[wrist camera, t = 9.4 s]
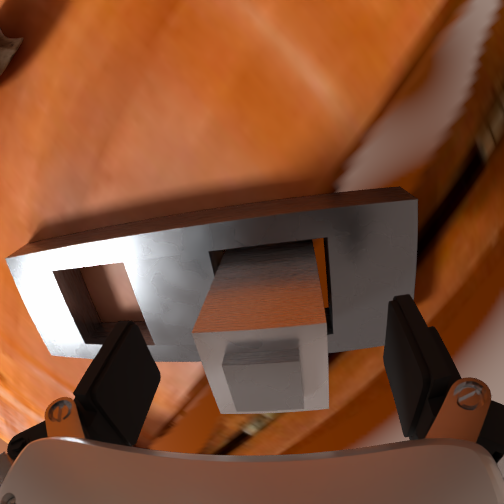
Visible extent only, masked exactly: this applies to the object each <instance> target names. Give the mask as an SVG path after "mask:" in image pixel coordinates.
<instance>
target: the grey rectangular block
mask: <svg viewBox="0 0 504 504" xmlns="http://www.w3.org/2000/svg"><path fill="white" fill-rule="evenodd" d="M192 336H193V339H194V342H195V345H196V348H197V350H198V353H199V356H200V359H201V362H202V365H203V367H204V370H205V373H206V376H207V378H208V381H209V384H210V387H211V389H212V392H213V395H214V397H215V400H216V402H217V405H218V408H219V410H220V413H221V414H250V413H279V412H295V411H309V410H320V409H329V382H328V345H327V323H326V316H325V310H324V304H323V298H322V292H321V286H320V280H319V274H318V269H317V263H316V258H315V252H314V247H313V242H312V239H308V240H299V241H291V242H282V243H274V244H265V245H257V246H249V247H240V248H232V249H226V251H225V253H224V255H223V258H222V260H221V263H220V265H219V267H218V270H217V272H216V275H215V277H214V279H213V282H212V284H211V287H210V289H209V291H208V294H207V296H206V299H205V301H204V304H203V306H202V308H201V311H200V313H199V316H198V318H197V321H196V323H195V326H194V328H193V331H192Z"/></svg>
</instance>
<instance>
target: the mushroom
mask: <svg viewBox="0 0 504 504" xmlns="http://www.w3.org/2000/svg"><path fill="white" fill-rule="evenodd" d="M22 41H23V38H16V39H14V38H8V37H6V36H4V35H3V33H2V31H1V29H0V75H1V74H2V73H3V72H4V70H5V69H6V67H7V66H8V64H9V62H10V61H11V59H12V57H13V56H14V54H15V52H16V51H17V49H18V48H19V46H20V44H21V43H22Z"/></svg>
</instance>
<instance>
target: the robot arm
mask: <svg viewBox="0 0 504 504" xmlns="http://www.w3.org/2000/svg"><path fill="white" fill-rule="evenodd" d="M383 360H384V366H385V369H386V373H387V376H388V379H389V383H390V386H391V390H392V393H393V397H394V400H395V404H396V408H397V411H398V415H399V419H400V423H401V426H402V431H403V434H404V437H409V439H410V440H409V441H402V442H396V443H389V444H383V445H377V446H371V447H363V448H356V449H348V450H339V451H331V452H320V453H309V454H294V455H270V456H227V455H204V454H189V453H178V452H167V451H158V450H150V449H143V448H136V447H132V446H133V445H135V444H136V442H137V439H138V437H139V434H140V431H141V429H142V426H143V424H144V421H145V418H146V416H147V413H148V410H149V408H150V405H151V403H152V400H153V398H154V395H155V392H156V390H157V387H158V385H159V382H160V378H161V376H160V372H159V369H158V367H157V365H156V363H155V361H154V359H153V357H152V355H151V353H150V351H149V349H148V346H147V344H146V342H145V340H144V338H143V335H142V333H141V331H140V329H139V327H138V325H136V324H135V323H134V322H133V321H119V322H117V324H116V325H115V327H114V328H113V330H112V331H111V333H110V334H109V336H108V337H107V339H106V341H105V342H104V344H103V345H102V347H101V348H100V350H99V352H98V353H97V355H96V356H95V358H94V359H93V361H92V363H91V364H90V366H89V368H88V369H87V371H86V372H85V374H84V376H83V377H82V379H81V381H80V382H79V384H78V386H77V387H76V389H75V391H74V392H73V394H74V395H75V399H74V400H72V399H71V398H68V397H62V398H58V399H56V400H55V401H53V402H52V403H51V404H50V405H49V406H48V407H47V409H46V412H45V421H43V422H41V423H39V424H37V425H35V426H33V427H31V428H29V429H27V430H25V431H23V432H21V433H19V434H17V435H15V436H14V437H13V438H12V439H11V440H10V442H9V444H8V449H7V452H8V453H5V452H3V453H2V454H0V504H504V405H502V404H500V403H497V402H495V401H492V400H491V392H490V389H489V387H488V386H487V385H486V384H485V383H484V382H483V381H481V380H479V379H477V378H461V377H460V374H459V372H458V370H457V368H456V366H455V364H454V362H453V360H452V358H451V356H450V354H449V352H448V350H447V348H446V347H445V345H444V343H443V341H442V339H441V337H440V335H439V333H438V331H437V330H436V328H435V327H433V326H432V327H428V326H427V325H426V323H425V321H424V319H423V317H422V315H421V313H420V312H419V310H418V308H417V306H416V304H415V302H414V301H413V299H412V297H411V296H410V294H405V295H398V296H394V298H393V301H389V303H388V314H387V326H386V337H385V346H384V356H383Z"/></svg>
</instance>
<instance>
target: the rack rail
mask: <svg viewBox="0 0 504 504" xmlns="http://www.w3.org/2000/svg"><path fill="white" fill-rule="evenodd" d="M417 237H418V199H417V198H415V197H414V196H412V195H411V194H410V193H408V192H407V191H406V190H404V189H403V188H401V187H389V188H378V189H369V190H358V191H348V192H339V193H329V194H321V195H312V196H304V197H295V198H287V199H279V200H272V201H264V202H257V203H250V204H243V205H236V206H229V207H222V208H215V209H209V210H202V211H196V212H190V213H184V214H177V215H171V216H165V217H160V218H154V219H148V220H142V221H137V222H131V223H126V224H120V225H115V226H110V227H105V228H100V229H94V230H89V231H84V232H79V233H75V234H70V235H65V236H60V237H55V238H51V239H46V240H42V241H37V242H33V243H28V244H26V245H24V246H23V247H21V248H20V249H19V250H17V251H16V252H14V253H13V254H11V255H10V256H8V257H7V258H5V259H6V261H7V264H8V267H9V269H10V272H11V274H12V276H13V279H14V281H15V283H16V286H17V288H18V290H19V293H20V295H21V297H22V299H23V301H24V303H25V306H26V308H27V310H28V312H29V314H30V316H31V318H32V320H33V322H34V324H35V326H36V328H37V330H38V332H39V333H40V335H41V337H42V339H43V341H44V343H45V344H46V346H47V348H48V350H49V352H50V353H51V355H54V356H64V357H75V358H88V359H94V358H95V356H96V355H97V353H98V352H99V350H100V348H101V347H102V345H103V344H104V342H105V341H106V339H107V337H108V336H109V334H110V333H111V331H112V330H113V328H114V327H115V325H116V324H117V322H106V323H101V321H100V318H99V316H98V314H97V312H96V309H95V307H94V305H93V302H92V300H91V298H90V295H89V293H88V290H87V288H86V285H85V283H84V280H83V278H82V275H81V273H80V270H79V267H87V266H94V265H102V264H110V263H118V262H124V265H125V268H126V271H127V274H128V276H129V279H130V282H131V285H132V288H133V290H134V293H135V296H136V298H137V301H138V304H139V306H140V309H141V312H142V314H143V317H144V319H145V322H134V323H135V324H136V325H138V327H139V329H140V331H141V333H142V335H143V338H144V340H145V342H146V344H147V346H148V349H149V351H150V353H151V355H152V357H153V359H154V361H156V362H198V361H201V359H200V356H199V353H198V350H197V348H196V345H195V342H194V339H193V336H192V331H193V328H194V326H195V323H196V321H197V318H198V316H199V313H200V311H201V308H202V306H203V304H204V301H205V299H206V296H207V294H208V291H209V289H210V287H211V284H212V282H213V279H214V277H215V275H216V272H217V270H218V267H219V265H220V263H221V260H222V258H223V255H224V254H223V250H224V249H232V248H240V247H249V246H257V245H265V244H274V243H282V242H291V241H299V240H308V239H316V238H324V248H325V261H326V274H327V286H328V287H327V288H328V304H329V308H324V310H325V316H326V323H327V345H328V353H333V352H341V351H349V350H356V349H363V348H370V347H377V346H383V345H385V337H386V326H387V314H388V303H389V301H393V298H394V296H398V295H405V294H410V296H411V297H412V299H413V300H414V289H415V277H416V261H417Z"/></svg>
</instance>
